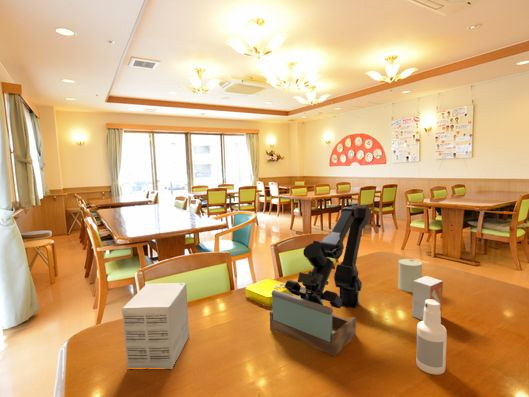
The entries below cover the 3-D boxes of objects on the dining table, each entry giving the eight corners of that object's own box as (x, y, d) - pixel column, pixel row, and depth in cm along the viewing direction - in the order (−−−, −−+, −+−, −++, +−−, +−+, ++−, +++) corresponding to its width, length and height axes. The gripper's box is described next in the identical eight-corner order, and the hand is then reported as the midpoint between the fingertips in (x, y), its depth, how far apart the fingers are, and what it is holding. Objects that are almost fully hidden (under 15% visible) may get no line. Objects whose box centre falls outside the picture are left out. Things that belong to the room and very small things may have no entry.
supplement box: (150, 335, 102) (146, 282, 100) (190, 335, 102) (187, 282, 100) (125, 370, 85) (119, 307, 83) (173, 370, 85) (169, 307, 82)
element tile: (268, 286, 141) (268, 276, 140) (294, 295, 130) (294, 284, 130) (243, 297, 130) (243, 286, 129) (269, 308, 119) (269, 296, 119)
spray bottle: (411, 359, 86) (412, 297, 84) (434, 357, 86) (436, 295, 84) (425, 376, 79) (427, 308, 77) (451, 374, 79) (454, 307, 77)
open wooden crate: (293, 313, 114) (293, 297, 113) (355, 335, 98) (355, 317, 98) (270, 328, 104) (269, 311, 103) (334, 356, 88) (334, 336, 88)
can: (422, 286, 134) (423, 259, 133) (420, 294, 126) (421, 265, 125) (399, 282, 139) (400, 256, 138) (396, 290, 131) (396, 262, 130)
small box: (429, 323, 104) (430, 286, 102) (411, 316, 109) (412, 280, 108) (442, 316, 108) (443, 280, 107) (424, 309, 114) (425, 275, 112)
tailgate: (276, 317, 104) (275, 288, 103) (333, 339, 90) (332, 306, 89) (272, 320, 102) (271, 291, 101) (329, 343, 88) (329, 309, 87)
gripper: (287, 256, 105) (266, 299, 98) (337, 267, 92) (318, 317, 85) (300, 272, 111) (282, 313, 104) (349, 284, 99) (332, 332, 92)
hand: (301, 318), depth 96 cm, fingers closed, pressing on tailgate
